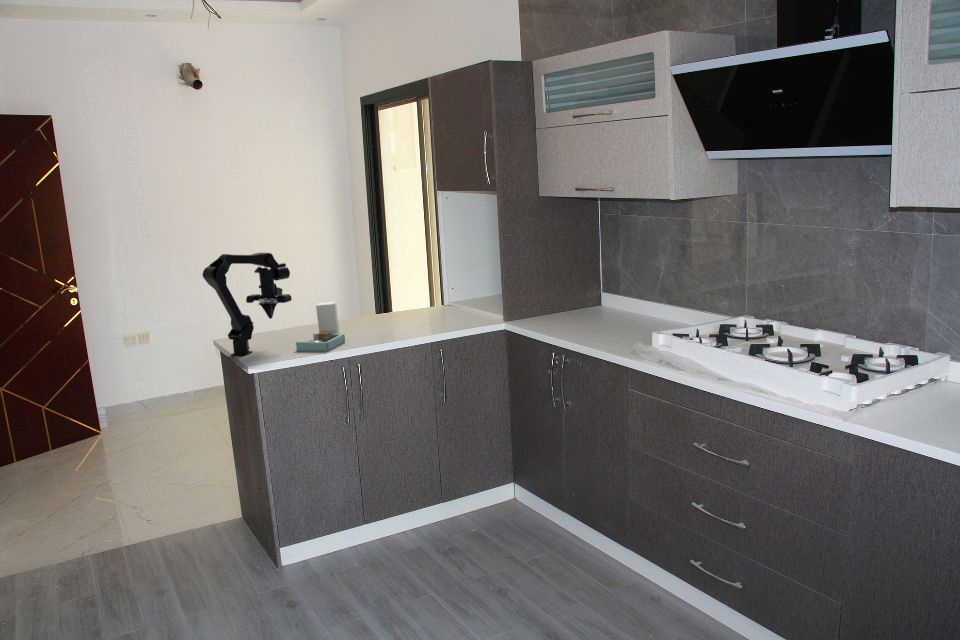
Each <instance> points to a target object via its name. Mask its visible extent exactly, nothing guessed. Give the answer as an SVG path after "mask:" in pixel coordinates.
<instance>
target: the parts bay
mask: <svg viewBox="0 0 960 640" xmlns="http://www.w3.org/2000/svg"><path fill="white" fill-rule="evenodd" d="M312 335H313V340H318V333H314V334H312ZM344 343H346V338H345V333H340V334H331V340H329V341H327V342H308V341H296V342H295V345H296V346H295V348H296V351H297V352H298V351H300V352H301V351H303V352H304V351H305V352H308V351H309V352H311V351H312V352H329V351H331V350H333V349H334V347H335V348H336V347H338V346H340V345H342V344H344Z"/></svg>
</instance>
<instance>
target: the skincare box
mask: <svg viewBox="0 0 960 640" xmlns="http://www.w3.org/2000/svg"><path fill="white" fill-rule="evenodd" d="M337 307H338V306H337V301H329V302H328V301H327V302H318V303H317V304H316V306H315V308H316V309H315V310H316V316H317V324H318V332H319V333H321V332H331V334H341V333H340V325H339V324H340V323H339V318H338V317H339V316H338V308H337Z"/></svg>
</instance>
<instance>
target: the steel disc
mask: <svg viewBox="0 0 960 640" xmlns="http://www.w3.org/2000/svg"><path fill="white" fill-rule="evenodd" d="M307 342H323V341H322V340H314V339H312V340H308V341H307Z"/></svg>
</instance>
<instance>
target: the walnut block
mask: <svg viewBox="0 0 960 640" xmlns="http://www.w3.org/2000/svg"><path fill="white" fill-rule="evenodd" d="M317 334H318V340H322V341H323V342H327V341H329V340H331V332H321V333H317Z"/></svg>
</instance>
